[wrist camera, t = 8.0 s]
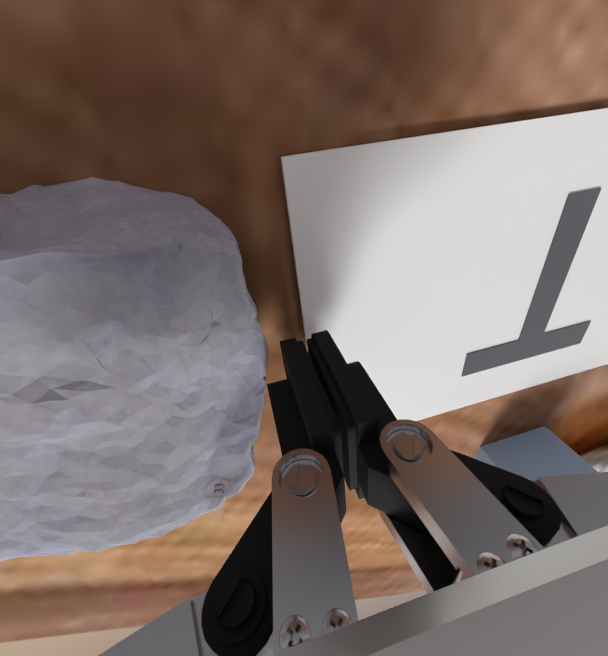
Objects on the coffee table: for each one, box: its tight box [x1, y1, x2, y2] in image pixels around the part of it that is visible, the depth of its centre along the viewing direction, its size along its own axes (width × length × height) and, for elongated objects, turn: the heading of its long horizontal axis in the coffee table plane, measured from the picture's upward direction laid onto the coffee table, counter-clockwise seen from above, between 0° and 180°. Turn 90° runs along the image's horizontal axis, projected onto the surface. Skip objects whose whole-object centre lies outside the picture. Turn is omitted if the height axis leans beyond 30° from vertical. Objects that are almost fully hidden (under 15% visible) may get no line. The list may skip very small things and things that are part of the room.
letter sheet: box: [280, 108, 608, 421], centre depth 13 cm, size 22×13×1 cm, turn 96°
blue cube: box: [476, 426, 598, 481], centre depth 20 cm, size 5×5×5 cm
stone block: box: [0, 177, 268, 561], centre depth 10 cm, size 12×5×10 cm
